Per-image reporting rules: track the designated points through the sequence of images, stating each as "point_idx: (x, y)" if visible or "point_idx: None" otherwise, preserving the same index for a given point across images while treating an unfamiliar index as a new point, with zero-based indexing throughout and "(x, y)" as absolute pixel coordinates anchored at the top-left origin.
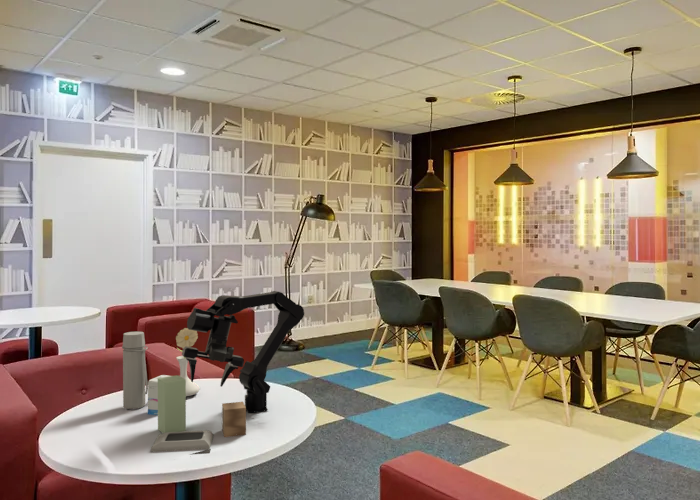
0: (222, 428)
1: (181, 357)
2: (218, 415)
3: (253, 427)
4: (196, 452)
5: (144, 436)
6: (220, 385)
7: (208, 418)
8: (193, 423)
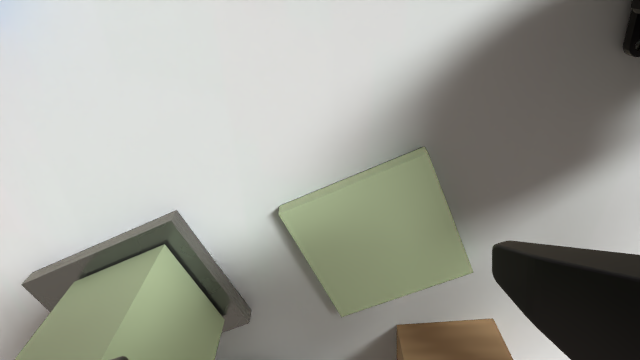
0: (401, 352)
1: None
2: (404, 47)
3: None
4: None
5: None
6: (496, 257)
7: (333, 97)
8: (244, 167)
